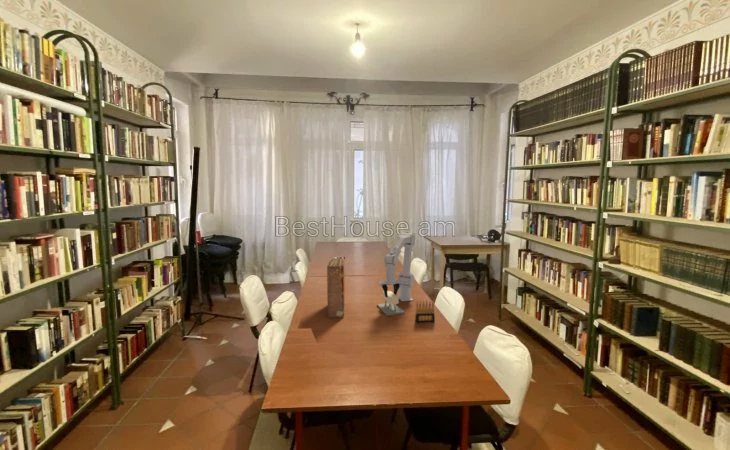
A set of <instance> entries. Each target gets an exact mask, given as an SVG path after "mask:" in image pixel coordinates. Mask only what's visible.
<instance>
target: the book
mask: <svg viewBox="0 0 730 450" xmlns="http://www.w3.org/2000/svg"><path fill="white" fill-rule="evenodd" d="M326 275H327V277H326V283H327V284H326V286H327V287H326V289H327V290H326V291H327V293H326V295H327V301H326V302H327V319H329V318H339V319H340V318H344V316H345V303H346V302H345V297H346V296H345V295H346V294H345V287H346V286H345V283H346V282H345V258H331V257H329V259H328V262H327V267H326Z"/></svg>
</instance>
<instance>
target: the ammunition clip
mask: <svg viewBox="0 0 730 450" xmlns="http://www.w3.org/2000/svg"><path fill="white" fill-rule="evenodd" d="M435 316H436V315H435V301H433V300H432V302H431V300H429V302H428V301H427V300H426V301H424V300H422V301H421V300H420V301H416V305H415V317H414V322H415V323H416V324H420V323H421V324H422V323H424V324H425V323H435V321H436V318H435Z"/></svg>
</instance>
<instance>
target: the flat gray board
mask: <svg viewBox="0 0 730 450" xmlns="http://www.w3.org/2000/svg"><path fill="white" fill-rule="evenodd" d="M376 306H377V308H378V309H380V310H381V312H383V314H385V316H396V315H405V311H404V310H403V309H402V308H401V307H400V306H398V304H389V303H388V302H387V301H386V300H385V301H384V303H383V302H382V303H377V304H376Z"/></svg>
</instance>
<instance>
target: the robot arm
mask: <svg viewBox="0 0 730 450" xmlns="http://www.w3.org/2000/svg"><path fill="white" fill-rule="evenodd" d="M415 245H416V236H415V234H414V233H410V232H409V233H407V232H399V233H398V236H397V242H396V245H394V246H393V247H392V248H391V249H390V251H389V253H388V254H386V255H384V260H383V261H384V265H385V280H384V281H379V282H378V286H379V287H382V290H383V291H384V293H385V297H387V291H389V290H388V289H389V287H388V286H392V287H393V293H394V294H395V295H397V296H398V297H399V301H401V302H410V301H414V299H413V298H412V287H414V284H415V274H413V273H412V272H411V266H412V264H411V263H412V255H413V253H412V252H413V247H415ZM403 247H404V252H403V262H402V271H401V272H400V273H398V276H397V280H396V272H397V271H396V269H397V268H396V265H397V264H398V260H399V257H400V254H401V253H402V250H401V249H402V248H403ZM397 293H398V294H397Z"/></svg>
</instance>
